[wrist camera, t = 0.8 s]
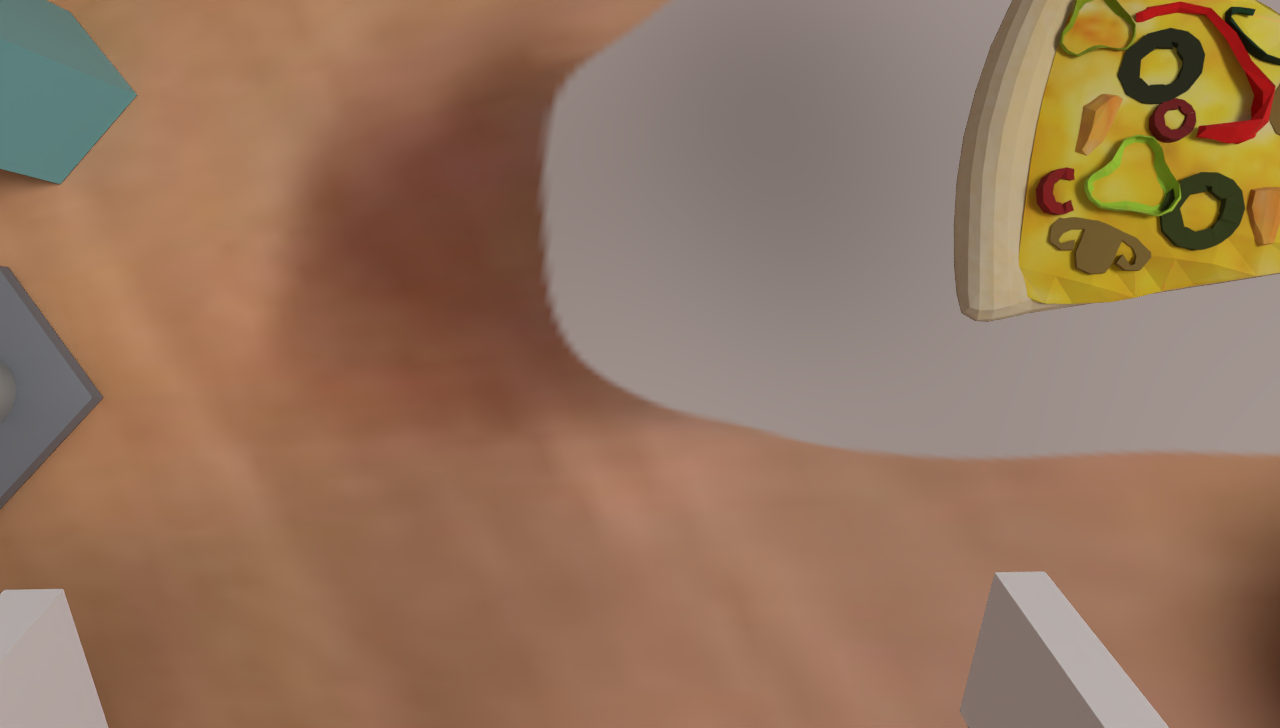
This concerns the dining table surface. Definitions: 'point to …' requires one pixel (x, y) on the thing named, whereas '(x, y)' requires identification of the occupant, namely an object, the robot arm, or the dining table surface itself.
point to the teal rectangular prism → (52, 90)
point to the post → (34, 387)
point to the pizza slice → (1119, 154)
